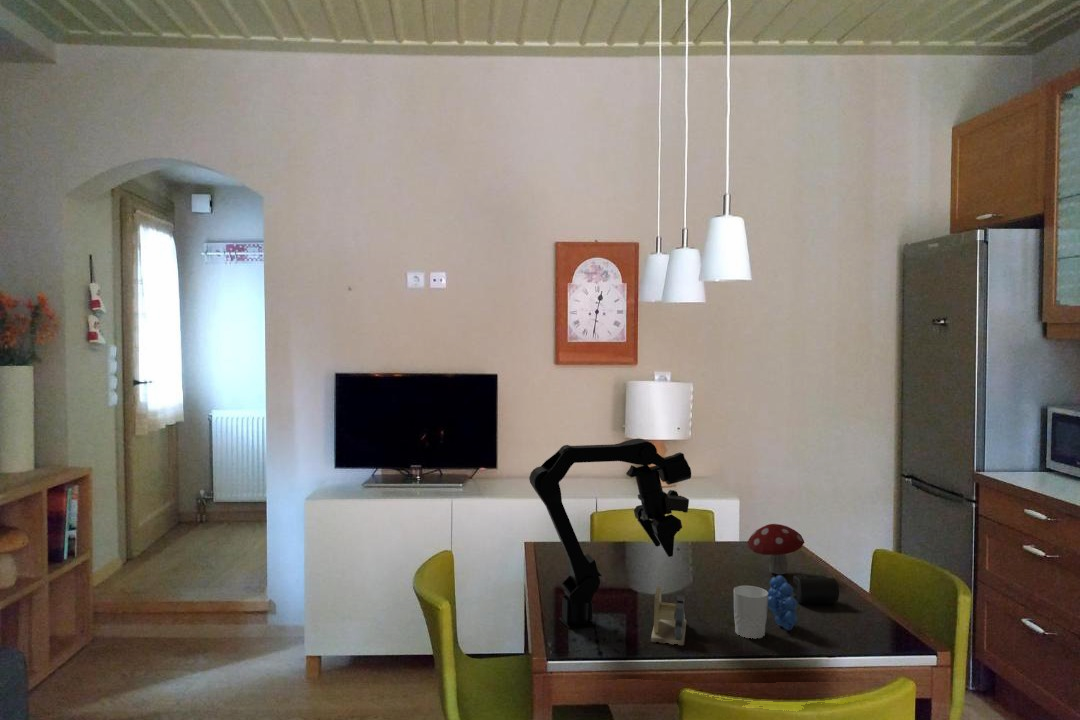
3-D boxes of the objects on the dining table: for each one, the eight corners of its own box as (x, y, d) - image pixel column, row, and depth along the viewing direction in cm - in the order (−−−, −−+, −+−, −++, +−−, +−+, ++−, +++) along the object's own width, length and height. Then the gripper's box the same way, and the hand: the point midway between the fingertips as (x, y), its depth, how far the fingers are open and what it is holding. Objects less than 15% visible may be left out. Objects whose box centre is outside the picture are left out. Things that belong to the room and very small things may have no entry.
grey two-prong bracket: (674, 639, 166) (674, 610, 166) (676, 619, 177) (677, 592, 177) (682, 640, 165) (682, 611, 165) (684, 620, 177) (685, 593, 177)
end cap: (800, 607, 190) (801, 581, 189) (790, 597, 197) (791, 572, 196) (839, 607, 190) (840, 582, 190) (827, 598, 197) (828, 573, 197)
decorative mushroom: (802, 586, 205) (803, 533, 205) (743, 578, 211) (745, 527, 211) (804, 570, 220) (805, 520, 219) (749, 563, 226) (750, 514, 225)
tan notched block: (653, 632, 169) (654, 597, 169) (656, 619, 177) (657, 586, 176) (673, 634, 168) (674, 599, 168) (675, 621, 176) (676, 588, 175)
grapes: (753, 618, 182) (754, 570, 181) (778, 616, 183) (780, 568, 183) (777, 637, 170) (778, 586, 170) (803, 635, 172) (805, 584, 171)
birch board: (651, 641, 167) (651, 637, 167) (655, 620, 179) (655, 616, 179) (683, 645, 165) (683, 641, 165) (686, 623, 177) (686, 619, 177)
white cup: (747, 642, 167) (748, 599, 167) (725, 629, 175) (726, 587, 174) (774, 637, 170) (775, 594, 170) (752, 624, 178) (753, 583, 177)
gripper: (695, 488, 172) (709, 552, 172) (668, 474, 190) (681, 532, 191) (650, 501, 170) (665, 565, 171) (627, 485, 188) (640, 544, 189)
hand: (664, 551), depth 180 cm, fingers open, 9 cm apart
